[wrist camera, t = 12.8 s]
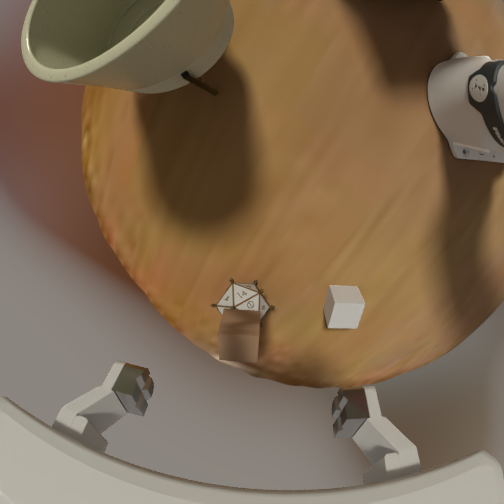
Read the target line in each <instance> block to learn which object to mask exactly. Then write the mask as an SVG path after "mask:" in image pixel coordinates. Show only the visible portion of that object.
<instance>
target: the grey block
mask: <svg viewBox="0 0 504 504" xmlns="http://www.w3.org/2000/svg"><path fill="white" fill-rule="evenodd" d="M364 307H365V302H364V299H363V297H362V295H361V293H360V291H359V289H358V286H341V285H329V288H328V292H327V297H326V301H325V305H324V309H323V310H324V314H325V318H326V322H327V326H328V328H357V327H358V324H359V321H360V318H361V315H362V313H363V310H364Z"/></svg>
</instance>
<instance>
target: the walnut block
mask: <svg viewBox="0 0 504 504" xmlns="http://www.w3.org/2000/svg"><path fill="white" fill-rule="evenodd" d="M260 316H261V311H254V310H239V309H226V308H224V309H223V314H222V318H221V322H220V326H219V331H218V343H219V359H220V360H228V361H239V362H253V363H257V359H258V347H259V333H260Z"/></svg>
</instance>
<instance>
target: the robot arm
mask: <svg viewBox="0 0 504 504" xmlns="http://www.w3.org/2000/svg"><path fill="white" fill-rule="evenodd" d="M428 100H429V105H430V109H431V112H432V115H433V117H434V119H435V121H436V123H437V125H438V127H439V128H440V130H441V131H442V132H443V134H444V135H445V136H446V138H447V140H448V142H449V145H450V149H451V151H452V154H453V156H454V157H455V158H459V159H470V160H481V161H491V162H499V163H504V60H494V61H493V60H491V59H490V57H488V56H471V57H468V56H466V55H465V54H464V53H462V52H456V53H455V54H454V55H453V56H452V58H451V59H450V60H448V61H444V62H441V63H439V64H438V65H436V66H435V67H434V69H433V70H432V72H431V74H430V77H429V81H428ZM463 150H464V153H463ZM149 374H150V372H149V370H148V368H144V367H140V366H136V365H132V364H129V363H125V362H121V361H116V362H115V363H114V365H113V366H112V368H111V370H110V372H109V374H108V375H107V377H106V379H105V381H104V383H103V384H102V386H98V387H96V388H94V389H92V390H91V391H89V392H87V393H86V394H84V395H82V396H81V397H79V398H77V399H75V400H74V401H72V402H70V403H68V404H66V405H65V406H63V407H62V409H61V411H60V412H59V414H58V416H57V418H56V420H55V422H54V424H53V425H52V427H51V426H49V425H47V424H46V423H44V422H43V421H41V420H39V419H38V418H36V417H34V416H33V415H31V414H30V413H28V412H27V411H25V410H24V409H22V408H21V407H19V406H18V405H17V404H15V403H14V402H13V401H11V400H10V399H9V398H7V397H0V504H504V479H503V473H502V469H501V466H500V463H499V462H498V461H497V460H496V459H495V458H494V457H492V456H491V455H489V454H488V453H487V452H485V451H483V450H477V451H475V452H472V453H470V454H468V455H465V456H463V457H461V458H458V459H456V460H453V461H450V462H448V463H445V464H442V465H440V466H437V467H434V468H431V469H428V470H425V471H421V467H420V462H419V457H418V453H417V448H416V446H415V445H414V444H413V443H412V442H410V440H408V439H407V438H406V437H405V436H404V435H403V434H402V433H401V432H400V431H399V430H398V429H397V428H396V427H395V426H394V425H393V424H392V423H391V422H390V421H389V420H388V419H387V418H386V417H382V415H381V411H380V407H379V402H378V398H377V394H376V390H375V387H374V386H366V387H365V386H364V387H362V386H360V387H342V388H339V390H338V392H337V393H338V396H336V397H335V398H334V400H333V404H332V417H333V418H334V419H335V420H336V421H335V423H334V424H333V431H334V438H339V437H352V438H353V440H354V441H355V442H356V443H357V445H358V446H359V447H360V449H361V450H362V451H363V453H364V454H365V455H366V457H367V458H368V459H369V460H370V462H371V463H372V464H373V466H371V467H370V468H368V469H367V470H366V471H365V472H364V473H363V483H364V485H358V486H351V487H342V488H332V489H320V490H261V489H248V488H247V489H246V488H237V487H229V486H222V485H215V484H209V483H203V482H198V481H193V480H188V479H184V478H179V477H175V476H171V475H167V474H164V473H160V472H156V471H153V470H150V469H146V468H143V467H140V466H137V465H134V464H131V463H128V462H126V461H123V460H120V459H118V458H115V457H113V456H110V455H108V454H105V453H104V452H105V450H106V447H107V445H108V442H107V440H106V439H105V438H104V437H102V435H101V433H102V432H104V431H105V430H106V429H108V427H110V426H111V425H113V424H114V423H115V422H116V421H118V420H119V419H120V418H121V417H123V416H124V415H125V414H126V413H127V412H129V413H133V414H136V415H140V416H144V414H145V411H146V409H147V406H148V404H147V401H146V400H148V399H149V398H151V396H152V394H153V389H154V383H153V380H152V378H150V376H149Z"/></svg>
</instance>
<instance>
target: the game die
mask: <svg viewBox="0 0 504 504" xmlns="http://www.w3.org/2000/svg"><path fill="white" fill-rule="evenodd" d="M230 282H231V283H232V284H231V285H230V286H229V288H228V289H227V291H226V292H225V293H224V295H223V296H222V297H221V299H220V300H219V302H218V303H217V304H212V305H210V306H212V307H217V309H218V311H219V312H220V314H221V315H222V314H223V309H224V308H226V309H239V310H254V311H261V316H260V321H261V320H262V318H263V317H264V316H265V314H266V313H267V311H268V310H269V308H271V309H274V308H275V307H274V306H269V304H268V303H267V301H266V300H265V298H264V297H263V295H262V294H261V293H263V289H261V290H260V291H259V289H258V288H257V286H256V284H257V280H256V281H254V284H246V283H234V280H233V279H232V278H230ZM260 327H262V323H260Z"/></svg>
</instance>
